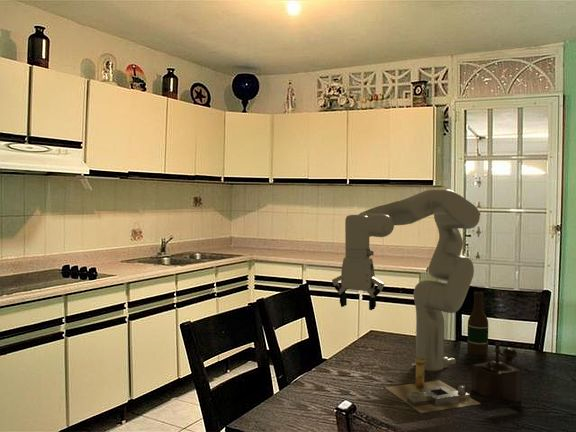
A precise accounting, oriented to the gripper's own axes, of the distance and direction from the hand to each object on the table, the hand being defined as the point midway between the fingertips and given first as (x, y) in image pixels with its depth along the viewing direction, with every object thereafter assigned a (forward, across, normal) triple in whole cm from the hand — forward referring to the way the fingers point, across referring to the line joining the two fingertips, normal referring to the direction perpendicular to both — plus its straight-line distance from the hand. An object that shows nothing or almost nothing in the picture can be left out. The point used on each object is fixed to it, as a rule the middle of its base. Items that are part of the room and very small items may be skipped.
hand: (357, 307), depth 164 cm
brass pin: (+25, -18, -6) cm, 31 cm away
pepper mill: (+27, -41, -13) cm, 51 cm away
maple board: (+26, -23, -2) cm, 35 cm away
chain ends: (+25, -26, 0) cm, 36 cm away
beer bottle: (+27, -25, -59) cm, 70 cm away
